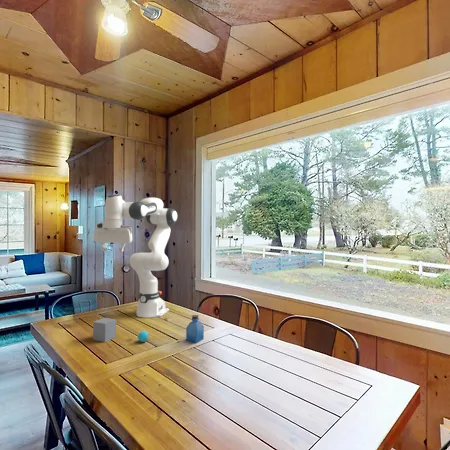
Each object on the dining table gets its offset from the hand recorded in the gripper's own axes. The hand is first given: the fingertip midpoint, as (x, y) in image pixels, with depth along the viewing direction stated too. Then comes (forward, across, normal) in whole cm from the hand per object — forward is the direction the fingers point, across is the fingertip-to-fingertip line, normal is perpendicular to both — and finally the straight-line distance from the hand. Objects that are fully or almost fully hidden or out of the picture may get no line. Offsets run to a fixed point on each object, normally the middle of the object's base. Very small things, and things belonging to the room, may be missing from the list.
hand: (113, 251), depth 161 cm
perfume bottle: (+43, -46, +4) cm, 63 cm away
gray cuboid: (+43, -1, +9) cm, 44 cm away
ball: (+40, -22, +10) cm, 47 cm away
